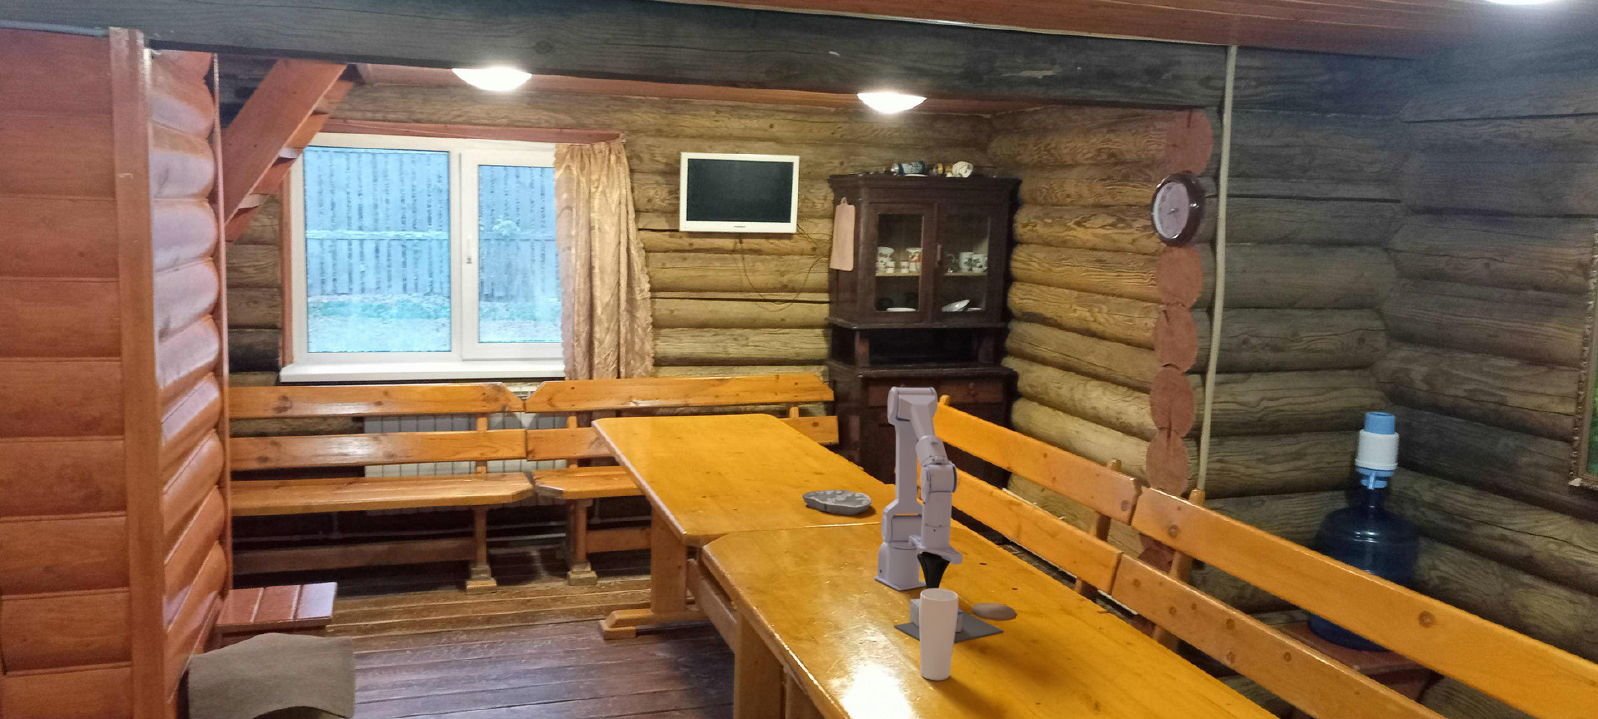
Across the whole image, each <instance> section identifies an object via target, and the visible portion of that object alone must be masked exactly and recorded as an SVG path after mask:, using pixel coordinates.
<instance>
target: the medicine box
mask: <svg viewBox="0 0 1598 719" xmlns="http://www.w3.org/2000/svg"><path fill="white" fill-rule="evenodd" d="M919 603H920V598H913V599H909V618H908V620H909V621H910V622H913V623H914V624H915V625H916V626H917V627H918V628H919ZM962 619H963V610H962V609H961V608H960V607H959V606H958V616H957V624H956V631H955V632H962Z"/></svg>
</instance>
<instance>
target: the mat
mask: <svg viewBox="0 0 1598 719" xmlns="http://www.w3.org/2000/svg"><path fill="white" fill-rule="evenodd" d="M962 611H963V610H962ZM893 628H895V629H897V630H899V631H901V632H902V633H904V634H906V635H907V636H910V637H912V638H914V639H915V640H917V641H919V642H920V634H919V628H918V627H917V626H916V625H915V624H914V623H913V622H912V621H910V622H904V623H901V624H895V625H893ZM1000 633H1004V630H1003V629H1001V628H999V627H997V626H995V625H993V624H990V623H988V622H987V621H984V620H982V619H980V618H979V617H977V616H973V615H972V614H969V613H968V612H965V611H963V619H962V632H955V638H954V644H956V643H959V642H965V641H969V640H973V639H978V638H982V637H987V636H991V635H996V634H1000Z"/></svg>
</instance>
